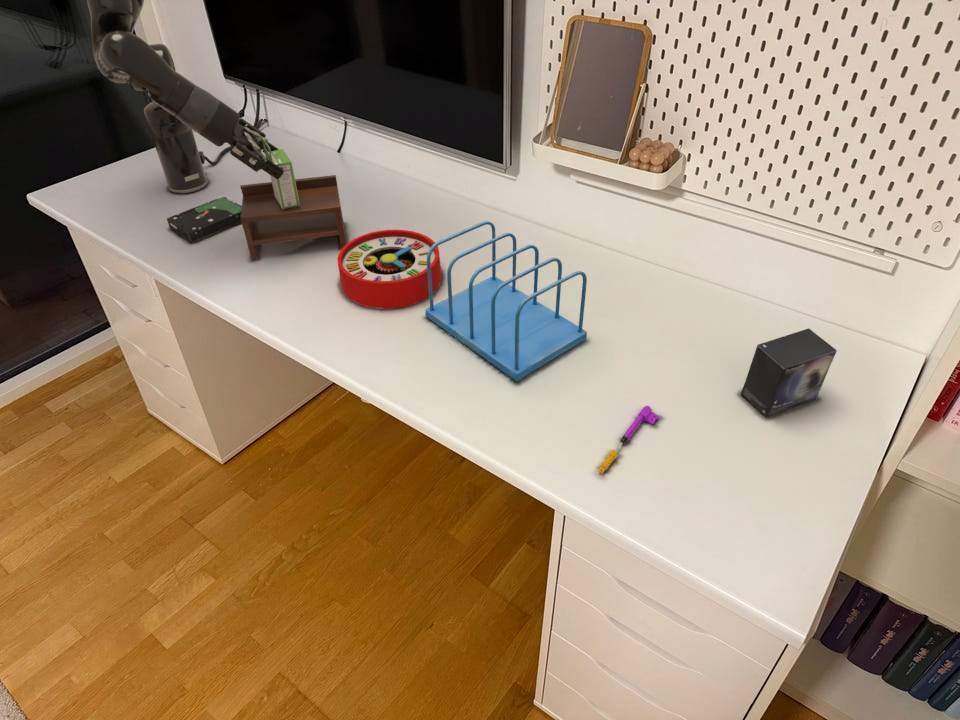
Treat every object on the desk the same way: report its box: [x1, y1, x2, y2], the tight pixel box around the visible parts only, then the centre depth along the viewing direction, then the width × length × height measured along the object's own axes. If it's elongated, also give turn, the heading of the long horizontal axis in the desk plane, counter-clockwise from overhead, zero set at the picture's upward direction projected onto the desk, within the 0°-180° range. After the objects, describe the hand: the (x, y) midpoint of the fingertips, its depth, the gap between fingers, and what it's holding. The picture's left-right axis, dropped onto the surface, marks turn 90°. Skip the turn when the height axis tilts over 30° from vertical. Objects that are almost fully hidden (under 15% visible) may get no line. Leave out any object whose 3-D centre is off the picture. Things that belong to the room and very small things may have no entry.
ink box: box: [261, 136, 300, 209], centre depth 141 cm, size 7×4×13 cm, turn 26°
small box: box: [740, 328, 838, 418], centre depth 108 cm, size 11×6×10 cm, turn 114°
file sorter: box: [424, 220, 588, 382], centre depth 122 cm, size 25×17×15 cm
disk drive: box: [166, 196, 242, 243], centre depth 158 cm, size 10×3×15 cm
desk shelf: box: [240, 174, 347, 261], centre depth 148 cm, size 11×20×12 cm, turn 102°
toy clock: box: [336, 229, 442, 310], centre depth 138 cm, size 20×6×20 cm
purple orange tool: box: [598, 405, 660, 474], centre depth 104 cm, size 3×1×16 cm
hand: (281, 166), depth 140 cm, fingers open, 8 cm apart
